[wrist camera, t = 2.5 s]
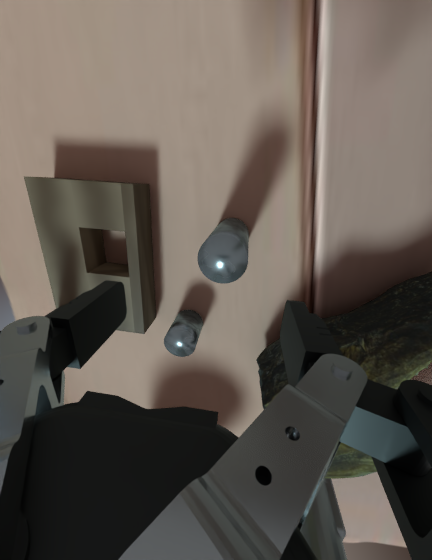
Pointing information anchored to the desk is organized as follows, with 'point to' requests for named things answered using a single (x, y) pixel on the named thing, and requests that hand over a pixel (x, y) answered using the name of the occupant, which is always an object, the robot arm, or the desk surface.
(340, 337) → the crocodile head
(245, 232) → the tall pin
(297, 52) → the desk surface
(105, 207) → the hole board
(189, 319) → the short pin
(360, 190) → the desk surface
